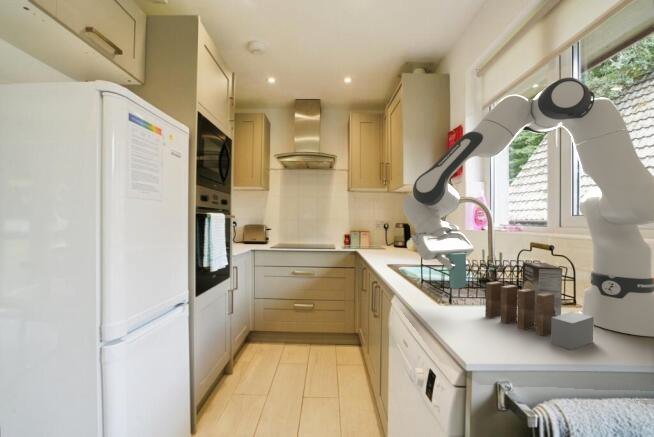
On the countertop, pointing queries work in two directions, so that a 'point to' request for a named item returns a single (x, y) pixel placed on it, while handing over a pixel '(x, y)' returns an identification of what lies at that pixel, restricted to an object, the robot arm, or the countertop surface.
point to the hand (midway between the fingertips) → (459, 267)
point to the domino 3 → (509, 303)
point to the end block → (572, 330)
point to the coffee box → (543, 282)
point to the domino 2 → (493, 299)
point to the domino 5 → (544, 313)
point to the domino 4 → (526, 308)
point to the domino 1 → (458, 270)
